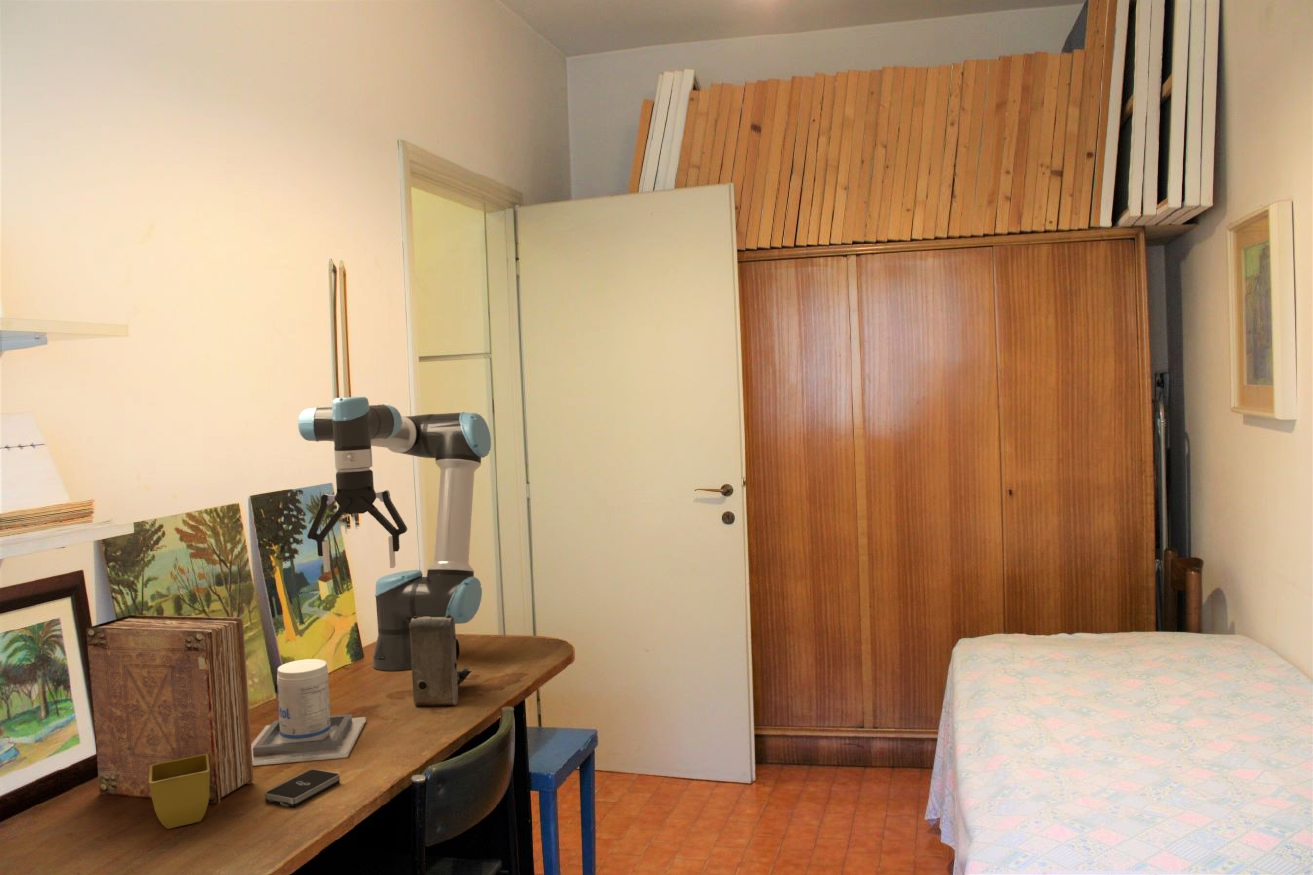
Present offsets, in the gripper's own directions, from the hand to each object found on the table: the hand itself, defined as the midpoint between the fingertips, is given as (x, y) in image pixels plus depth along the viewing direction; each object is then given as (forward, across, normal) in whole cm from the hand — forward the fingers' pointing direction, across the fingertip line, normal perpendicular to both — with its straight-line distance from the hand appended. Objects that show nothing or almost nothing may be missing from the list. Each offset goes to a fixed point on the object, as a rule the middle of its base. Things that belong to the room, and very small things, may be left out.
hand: (360, 569), depth 203 cm
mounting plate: (+32, -10, -14) cm, 36 cm away
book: (+32, -28, -32) cm, 53 cm away
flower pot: (+32, -22, -46) cm, 60 cm away
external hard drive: (+32, -5, -39) cm, 51 cm away
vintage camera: (+32, +15, +9) cm, 36 cm away
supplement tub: (+31, -10, -14) cm, 35 cm away
